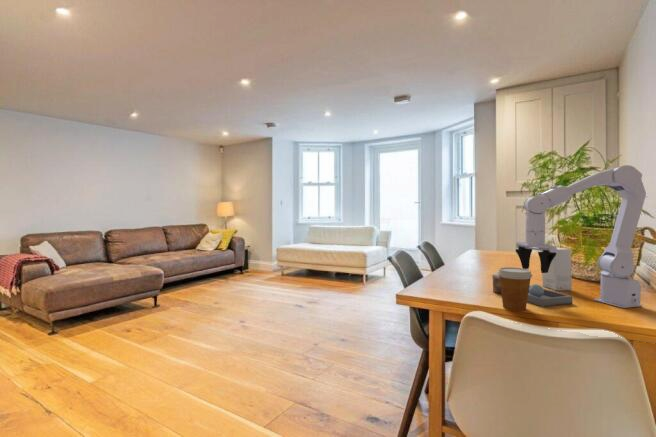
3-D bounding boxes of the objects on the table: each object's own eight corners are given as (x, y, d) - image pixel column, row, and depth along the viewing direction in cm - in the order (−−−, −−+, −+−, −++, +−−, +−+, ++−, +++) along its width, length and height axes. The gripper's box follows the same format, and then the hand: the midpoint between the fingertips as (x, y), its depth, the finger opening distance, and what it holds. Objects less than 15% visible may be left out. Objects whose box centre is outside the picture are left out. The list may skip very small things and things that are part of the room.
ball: (547, 298, 115) (547, 285, 114) (537, 299, 113) (537, 286, 113) (535, 294, 119) (535, 282, 119) (525, 296, 118) (525, 283, 117)
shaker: (510, 293, 124) (509, 275, 124) (500, 294, 122) (499, 276, 122) (499, 290, 128) (499, 273, 128) (489, 291, 127) (489, 274, 127)
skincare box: (572, 290, 127) (572, 249, 126) (554, 290, 127) (554, 249, 126) (557, 285, 135) (557, 246, 135) (540, 285, 135) (541, 246, 135)
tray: (572, 303, 110) (572, 296, 110) (542, 307, 107) (542, 299, 107) (530, 292, 125) (530, 285, 125) (503, 294, 122) (504, 287, 122)
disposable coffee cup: (501, 301, 113) (501, 266, 113) (534, 307, 107) (534, 269, 107) (493, 308, 106) (494, 270, 105) (529, 314, 100) (529, 273, 99)
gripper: (509, 230, 123) (508, 267, 123) (544, 233, 109) (544, 275, 109) (524, 229, 125) (524, 266, 125) (561, 232, 111) (561, 274, 111)
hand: (534, 270), depth 117 cm, fingers open, 7 cm apart
